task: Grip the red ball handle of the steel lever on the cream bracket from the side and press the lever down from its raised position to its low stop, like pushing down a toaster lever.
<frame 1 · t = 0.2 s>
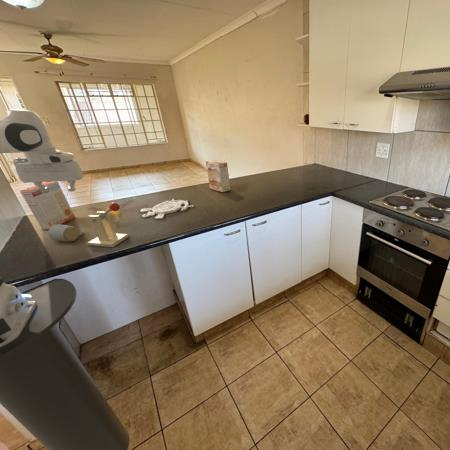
hand: (59, 191, 99), 25 cm above the countertop, tool pointing down, fingers open, 8 cm apart
lever: (107, 212, 105), point 15 cm above the countertop, hinge at 30.0°
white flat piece: (167, 209, 145), on the countertop
ceramic mug: (70, 239, 115), on the countertop
bracket: (109, 241, 113), on the countertop
cracker box: (59, 223, 129), on the countertop
coffeecake box: (220, 189, 175), on the countertop
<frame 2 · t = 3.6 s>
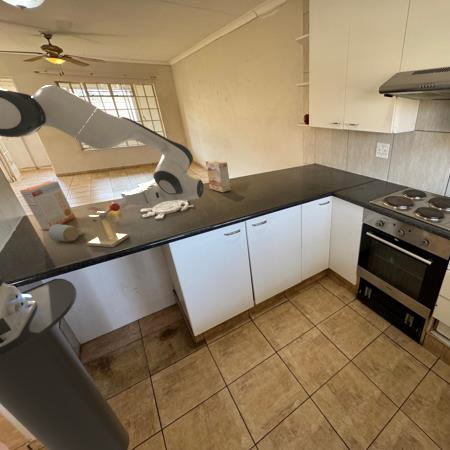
hand: (131, 190, 99), 25 cm above the countertop, tool horizontal, fingers open, 8 cm apart
nothing on the countertop moved.
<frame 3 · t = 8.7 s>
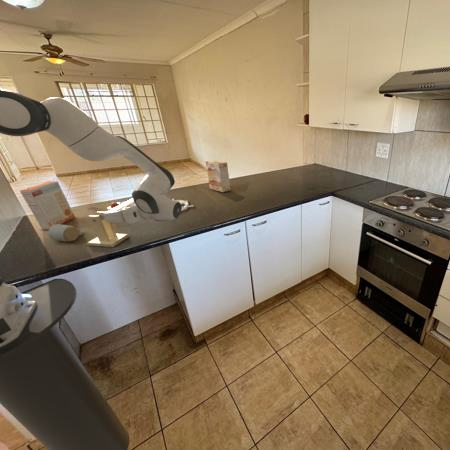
hand: (112, 206, 104), 18 cm above the countertop, tool horizontal, fingers closed on lever, 3 cm apart
lever: (107, 212, 105), point 15 cm above the countertop, hinge at 30.0°, touching gripper
everything else where it was.
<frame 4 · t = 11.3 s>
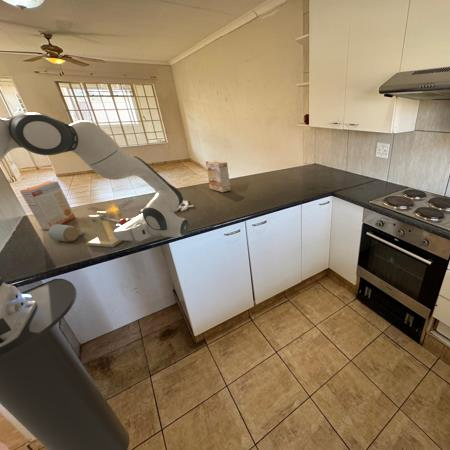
hand: (121, 223, 107), 10 cm above the countertop, tool horizontal, fingers closed on lever, 3 cm apart
lever: (111, 220, 107), point 11 cm above the countertop, hinge at -10.4°, touching gripper
everything else where it was.
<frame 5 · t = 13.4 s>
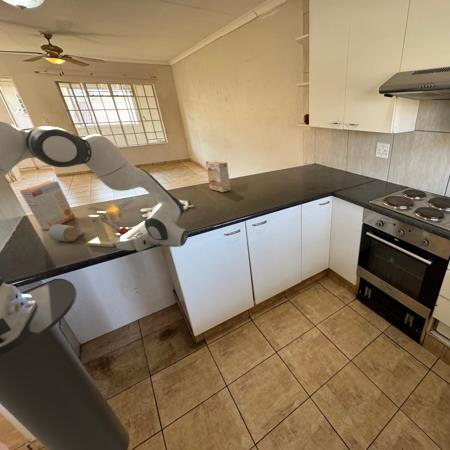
hand: (121, 232, 110), 5 cm above the countertop, tool horizontal, fingers closed on lever, 3 cm apart
lever: (111, 224, 108), point 9 cm above the countertop, hinge at -35.0°, touching gripper
everything else where it was.
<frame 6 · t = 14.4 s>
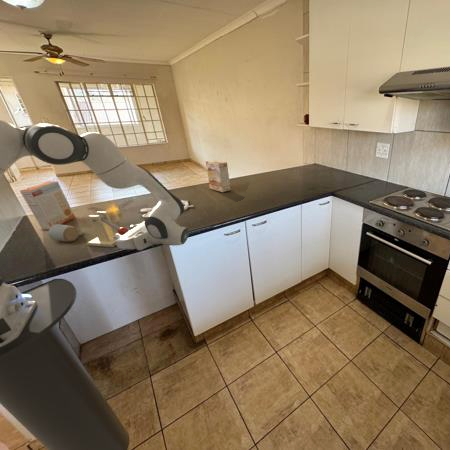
hand: (123, 232, 109), 5 cm above the countertop, tool horizontal, fingers open, 8 cm apart
lever: (111, 224, 108), point 9 cm above the countertop, hinge at -34.7°
everything else where it was.
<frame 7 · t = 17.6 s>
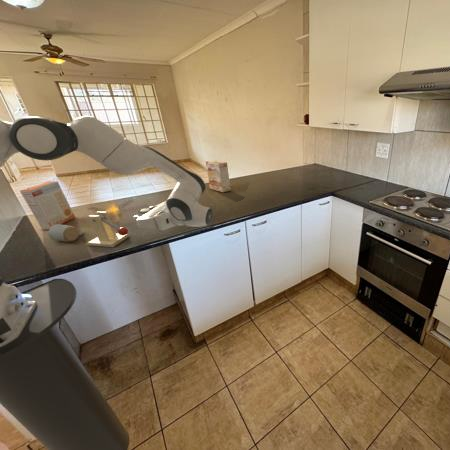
hand: (142, 212, 103), 16 cm above the countertop, tool horizontal, fingers open, 8 cm apart
nothing on the countertop moved.
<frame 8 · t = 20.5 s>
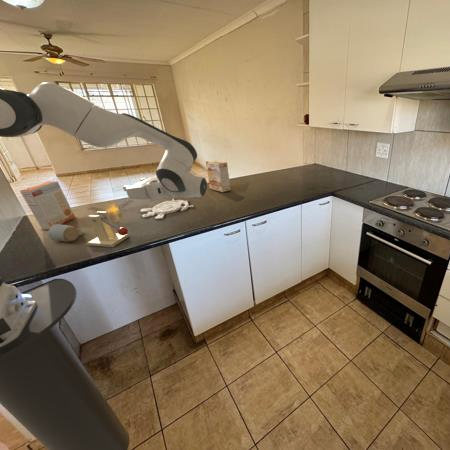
hand: (133, 184, 97), 28 cm above the countertop, tool horizontal, fingers open, 8 cm apart
nothing on the countertop moved.
at the end: lever at -35° (first picture: +30°); lever reached -35° during the clip, -35° at the end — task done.
